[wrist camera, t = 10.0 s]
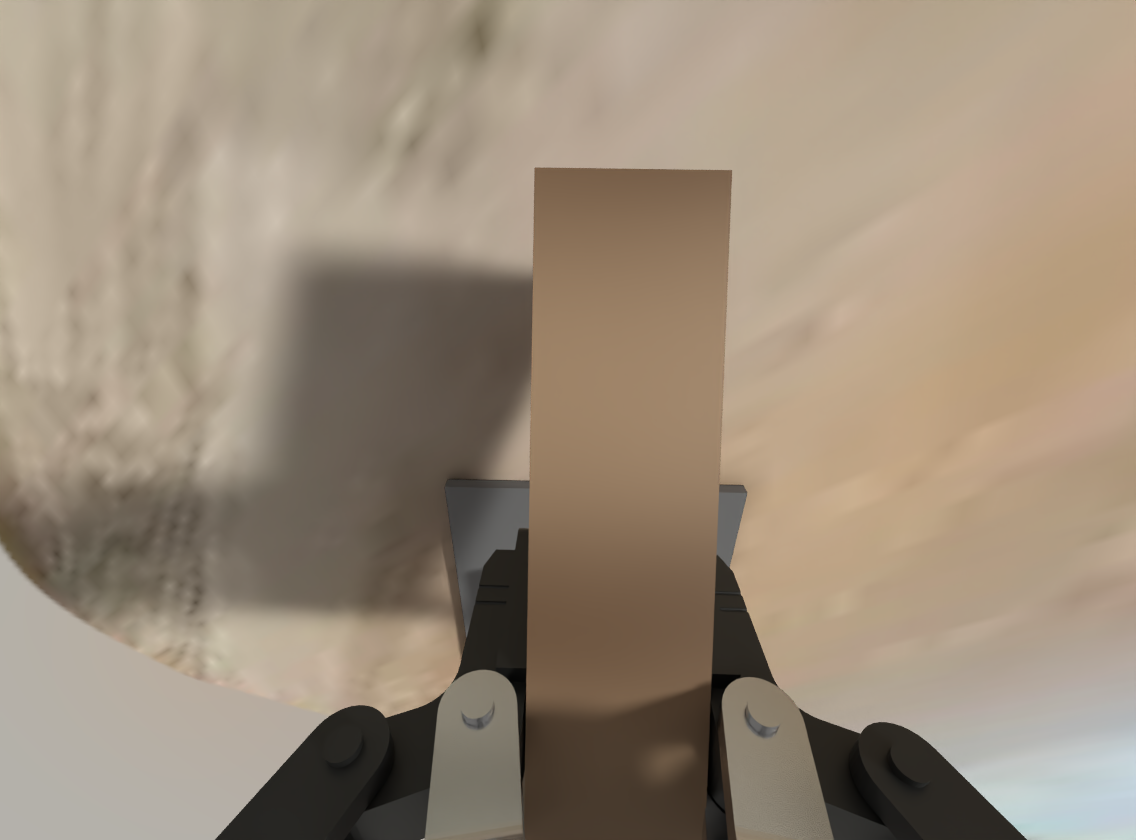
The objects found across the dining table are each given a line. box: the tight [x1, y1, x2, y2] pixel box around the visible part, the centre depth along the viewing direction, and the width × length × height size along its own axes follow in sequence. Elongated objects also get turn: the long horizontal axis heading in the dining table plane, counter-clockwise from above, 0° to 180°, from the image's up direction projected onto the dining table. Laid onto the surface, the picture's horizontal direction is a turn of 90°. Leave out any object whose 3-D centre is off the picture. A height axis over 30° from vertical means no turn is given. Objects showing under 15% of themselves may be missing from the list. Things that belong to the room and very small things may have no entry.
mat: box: [445, 479, 747, 638], centre depth 22 cm, size 14×12×1 cm
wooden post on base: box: [522, 168, 732, 840], centre depth 10 cm, size 15×8×6 cm, turn 178°
